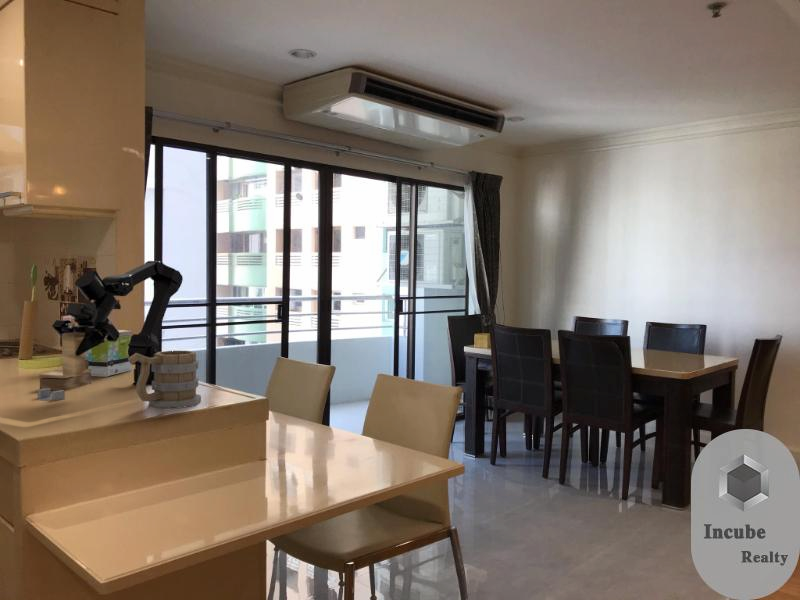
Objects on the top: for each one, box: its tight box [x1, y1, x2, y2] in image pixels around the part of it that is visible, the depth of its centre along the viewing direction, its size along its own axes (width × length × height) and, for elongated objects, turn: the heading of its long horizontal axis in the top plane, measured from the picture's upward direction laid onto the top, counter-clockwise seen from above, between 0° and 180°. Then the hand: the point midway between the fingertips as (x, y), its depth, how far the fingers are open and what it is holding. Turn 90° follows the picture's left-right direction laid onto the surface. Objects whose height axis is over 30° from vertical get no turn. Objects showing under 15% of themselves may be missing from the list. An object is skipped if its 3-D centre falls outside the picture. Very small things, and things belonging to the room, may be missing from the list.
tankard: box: [128, 350, 202, 409], centre depth 175 cm, size 20×13×15 cm, turn 141°
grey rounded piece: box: [37, 388, 66, 402], centre depth 177 cm, size 6×7×3 cm
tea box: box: [85, 329, 133, 378], centre depth 226 cm, size 15×10×15 cm, turn 171°
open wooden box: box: [39, 372, 92, 391], centre depth 195 cm, size 13×8×4 cm, turn 174°
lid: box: [39, 360, 91, 379], centre depth 195 cm, size 13×8×4 cm, turn 174°
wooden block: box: [61, 332, 86, 377], centre depth 178 cm, size 4×4×12 cm
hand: (70, 354), depth 176 cm, fingers closed on wooden block, 4 cm apart
